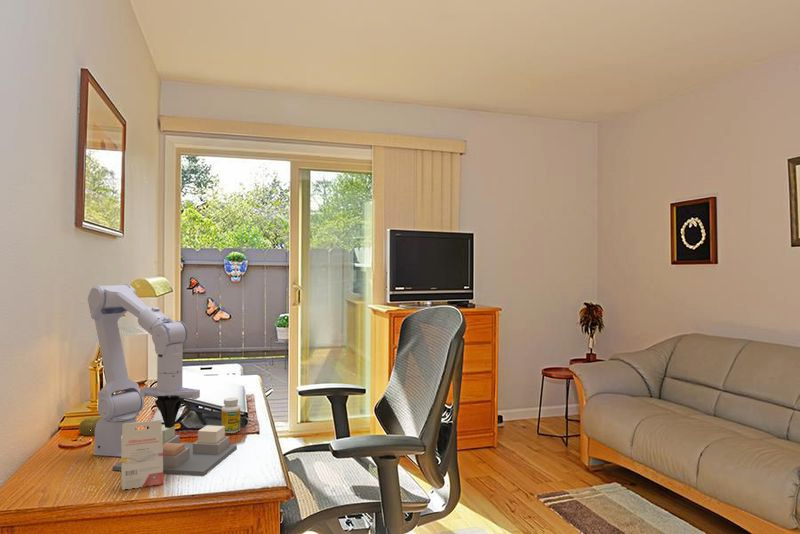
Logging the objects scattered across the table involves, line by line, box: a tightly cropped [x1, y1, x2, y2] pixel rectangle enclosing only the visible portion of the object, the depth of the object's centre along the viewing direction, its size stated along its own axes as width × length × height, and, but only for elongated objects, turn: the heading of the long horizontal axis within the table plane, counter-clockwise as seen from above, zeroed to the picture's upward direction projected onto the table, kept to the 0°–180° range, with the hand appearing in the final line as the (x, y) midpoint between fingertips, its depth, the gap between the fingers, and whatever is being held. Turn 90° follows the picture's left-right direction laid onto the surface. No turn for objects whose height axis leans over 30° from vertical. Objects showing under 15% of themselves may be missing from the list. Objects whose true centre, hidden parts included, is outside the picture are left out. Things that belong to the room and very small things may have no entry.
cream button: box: [197, 424, 226, 444], centre depth 147 cm, size 5×5×4 cm
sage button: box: [161, 423, 176, 443], centre depth 148 cm, size 5×5×4 cm
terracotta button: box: [163, 443, 185, 456], centre depth 138 cm, size 5×5×4 cm
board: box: [112, 434, 238, 477], centre depth 143 cm, size 23×19×4 cm
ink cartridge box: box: [120, 419, 164, 491], centre depth 127 cm, size 9×5×15 cm, turn 114°
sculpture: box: [78, 416, 102, 436], centre depth 164 cm, size 8×4×8 cm
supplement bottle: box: [221, 397, 241, 434], centre depth 166 cm, size 5×5×10 cm
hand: (169, 426), depth 138 cm, fingers closed
